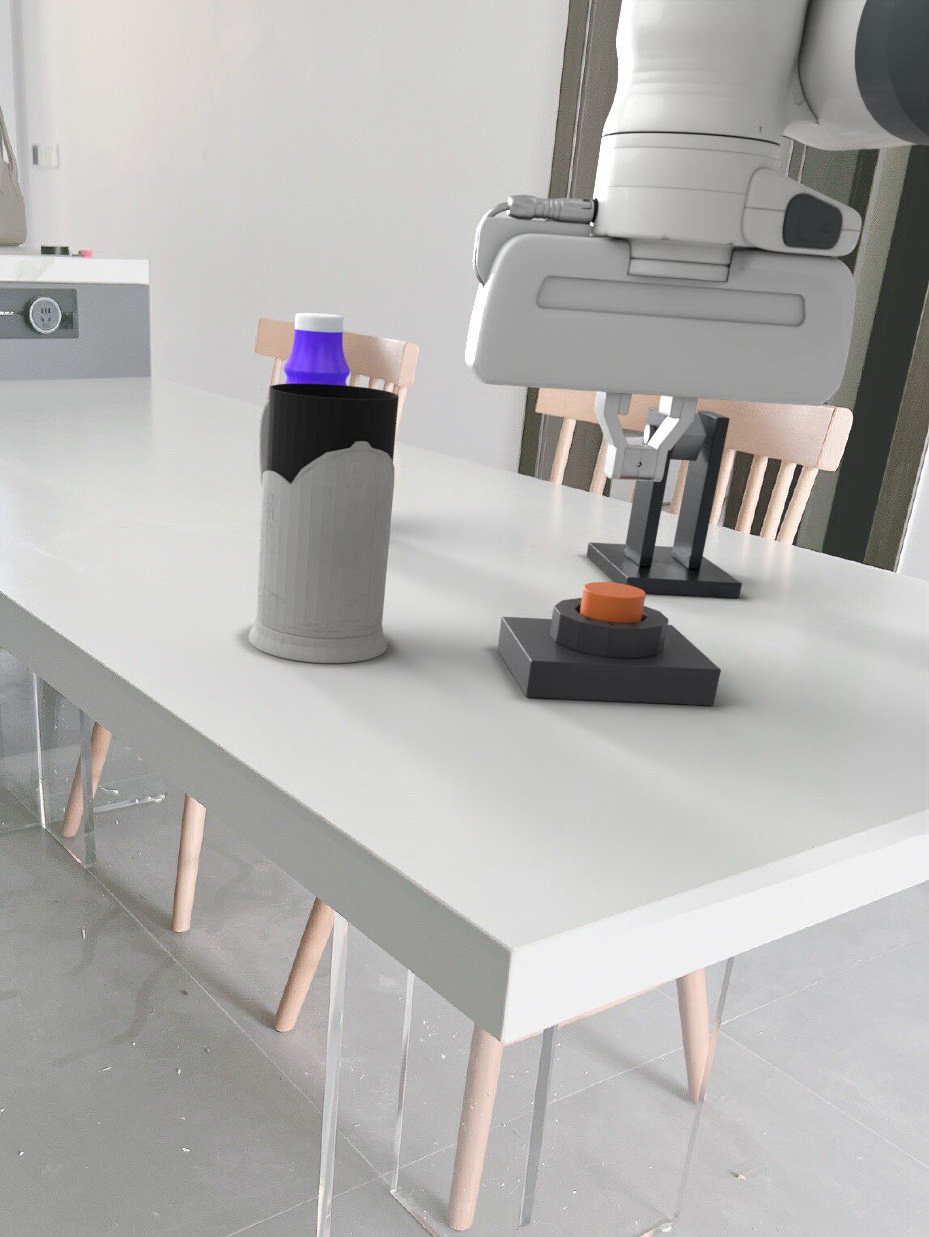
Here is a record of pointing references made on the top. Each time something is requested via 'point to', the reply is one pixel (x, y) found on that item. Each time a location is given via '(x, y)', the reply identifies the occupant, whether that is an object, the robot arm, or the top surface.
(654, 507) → the bracket
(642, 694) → the switch box
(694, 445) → the lever
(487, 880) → the top surface
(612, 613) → the button
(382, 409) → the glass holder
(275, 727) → the top surface
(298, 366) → the bottle
